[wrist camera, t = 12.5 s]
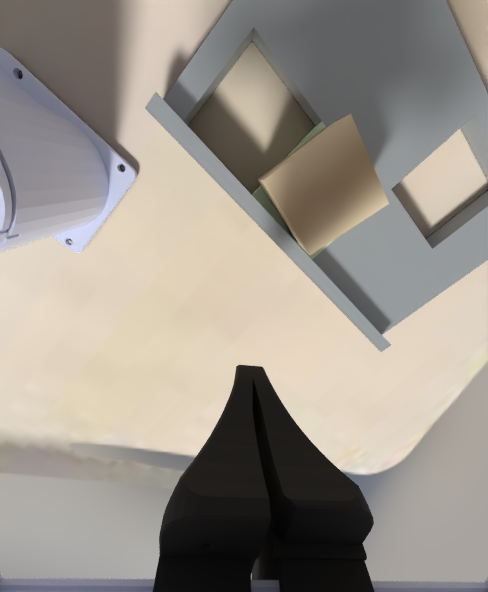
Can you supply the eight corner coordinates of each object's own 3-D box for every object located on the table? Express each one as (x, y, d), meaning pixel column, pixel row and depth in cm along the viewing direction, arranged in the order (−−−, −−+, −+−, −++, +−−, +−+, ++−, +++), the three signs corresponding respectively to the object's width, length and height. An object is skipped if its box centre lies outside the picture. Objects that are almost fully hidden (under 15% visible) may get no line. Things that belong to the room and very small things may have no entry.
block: (257, 179, 17) (263, 180, 13) (323, 128, 16) (350, 113, 12) (295, 240, 19) (309, 255, 15) (357, 198, 17) (389, 203, 14)
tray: (159, 119, 16) (144, 108, 14) (348, -145, 12) (380, -238, 9) (364, 332, 24) (380, 352, 21) (523, 216, 20) (569, 222, 17)
